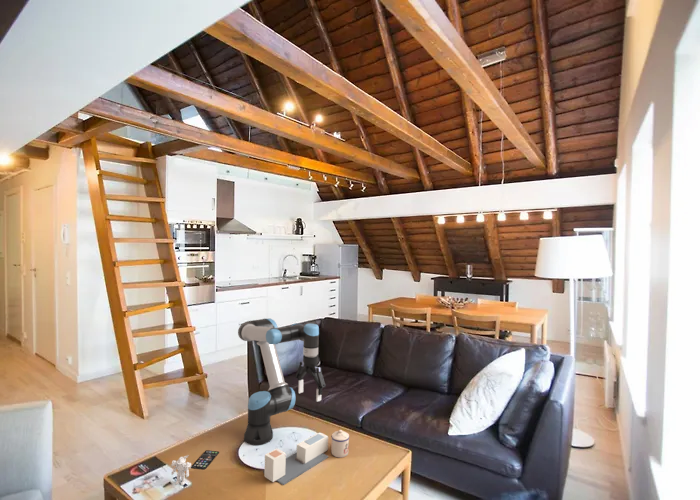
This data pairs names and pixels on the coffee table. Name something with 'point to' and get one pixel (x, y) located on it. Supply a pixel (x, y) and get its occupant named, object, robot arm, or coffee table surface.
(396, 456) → the coffee table surface
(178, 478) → the hat wearing toy figure
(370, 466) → the coffee table surface
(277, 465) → the box with pink panel
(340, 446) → the teacup with lid
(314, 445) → the cream long box
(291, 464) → the mat
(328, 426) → the coffee table surface
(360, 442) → the coffee table surface
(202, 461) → the smartphone
